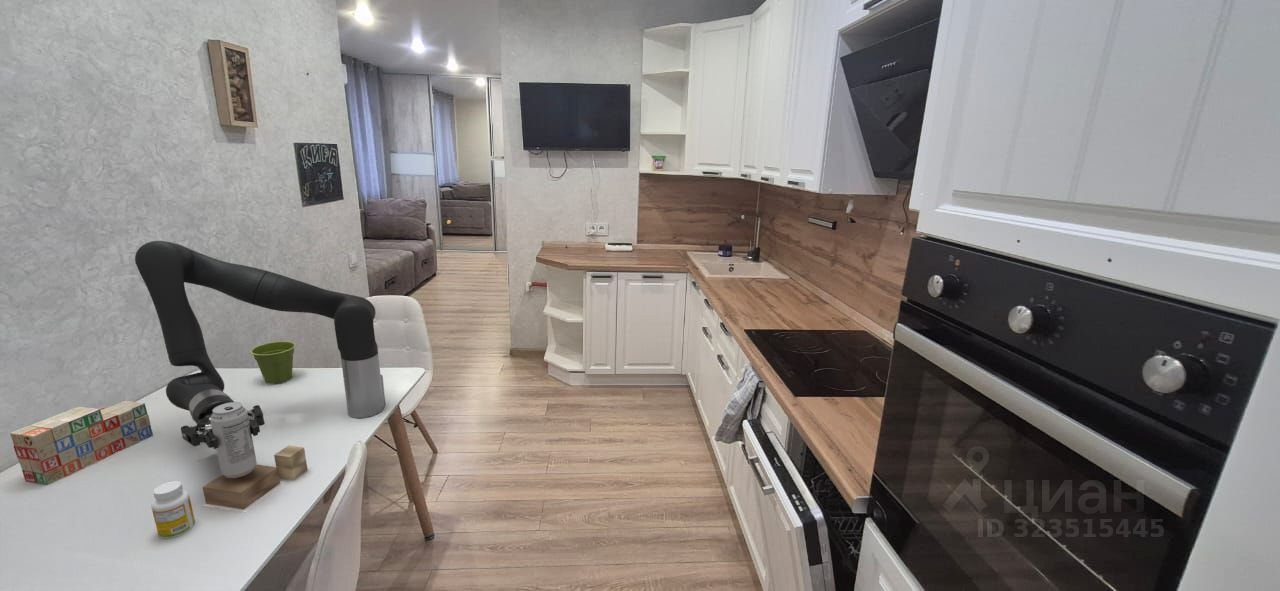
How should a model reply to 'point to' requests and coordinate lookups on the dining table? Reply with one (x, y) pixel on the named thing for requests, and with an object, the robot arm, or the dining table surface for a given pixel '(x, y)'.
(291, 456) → the oak post
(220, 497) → the base block
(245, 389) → the dining table surface
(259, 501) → the blueprint board
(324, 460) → the dining table surface
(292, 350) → the plant pot
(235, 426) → the energy drink can
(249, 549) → the dining table surface
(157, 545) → the dining table surface
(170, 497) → the supplement bottle
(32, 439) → the stack of blocks
